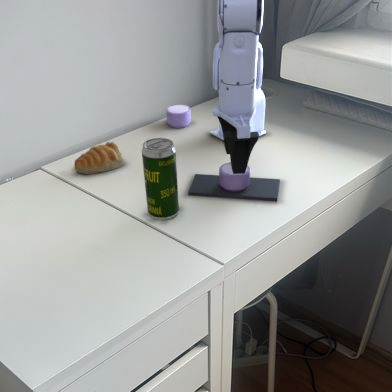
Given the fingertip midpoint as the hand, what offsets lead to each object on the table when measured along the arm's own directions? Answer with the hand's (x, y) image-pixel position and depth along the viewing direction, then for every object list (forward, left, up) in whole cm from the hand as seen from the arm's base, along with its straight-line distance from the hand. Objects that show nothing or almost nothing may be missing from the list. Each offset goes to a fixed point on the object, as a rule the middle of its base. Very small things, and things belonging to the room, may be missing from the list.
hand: (235, 162), depth 89 cm
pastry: (+15, -23, -5) cm, 28 cm away
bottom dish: (-9, -31, -5) cm, 33 cm away
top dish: (0, 0, -4) cm, 4 cm away
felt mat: (0, 0, -5) cm, 5 cm away
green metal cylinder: (+15, -1, -5) cm, 16 cm away
